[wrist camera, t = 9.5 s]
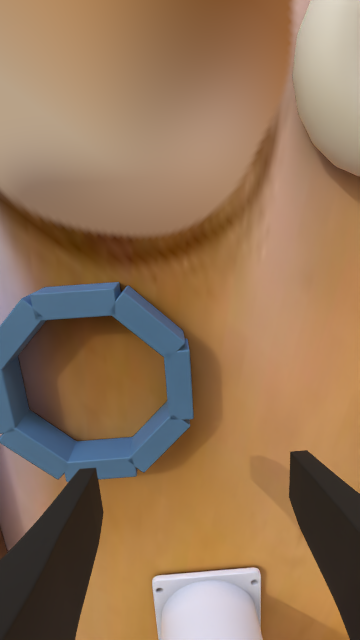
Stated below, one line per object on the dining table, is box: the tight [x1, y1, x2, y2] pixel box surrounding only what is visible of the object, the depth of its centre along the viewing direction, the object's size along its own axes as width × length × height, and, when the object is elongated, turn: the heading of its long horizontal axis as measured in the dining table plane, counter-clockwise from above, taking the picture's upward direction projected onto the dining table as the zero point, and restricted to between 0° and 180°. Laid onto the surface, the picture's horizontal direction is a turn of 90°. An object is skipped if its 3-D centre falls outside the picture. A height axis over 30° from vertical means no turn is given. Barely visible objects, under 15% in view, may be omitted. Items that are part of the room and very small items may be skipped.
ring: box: [0, 282, 194, 482], centre depth 19 cm, size 11×11×2 cm
